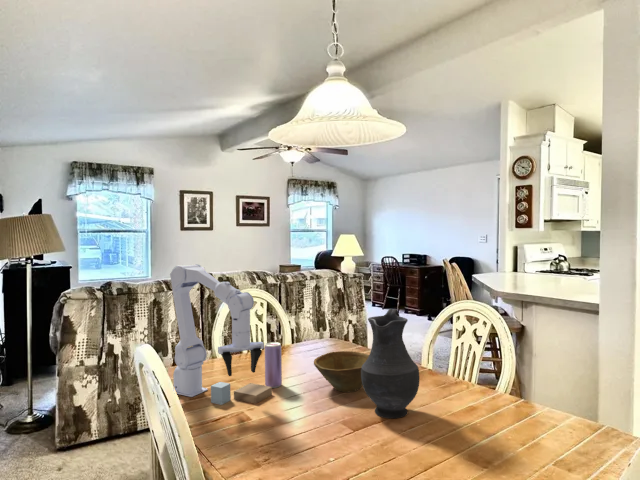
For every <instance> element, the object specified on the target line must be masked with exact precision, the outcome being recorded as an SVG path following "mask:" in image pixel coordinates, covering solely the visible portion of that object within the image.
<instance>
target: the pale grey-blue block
mask: <svg viewBox="0 0 640 480" xmlns="http://www.w3.org/2000/svg"><path fill="white" fill-rule="evenodd" d="M231 396H232V395H231V383H228V382H223V381H219V382H216V383H214V384H212V385H210V403H211V404H216V405H220V406H223V405H224V404H226V403H229V402H230V401H231Z"/></svg>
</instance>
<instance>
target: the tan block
mask: <svg viewBox="0 0 640 480" xmlns="http://www.w3.org/2000/svg"><path fill="white" fill-rule="evenodd" d="M272 395H273V388H272V387H269V386H266V385H265V384H264V385H262V384H257V383H253V382H252V383H248V384H246V385H244V386H242V387H239V388H238V389H236V390H234V391H233V399H234V400H237V401H240V402H241V401H242V402H246V403H251V404H258V403H260V402H262V401H264V400H265V399H266V398H268V397H270V396H272Z"/></svg>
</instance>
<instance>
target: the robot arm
mask: <svg viewBox="0 0 640 480" xmlns="http://www.w3.org/2000/svg"><path fill="white" fill-rule="evenodd" d="M169 277H170V282H171V287H172V288H171V290H172V297H173V303H174V304H173V305H174V309H175V315H176V321H177V326H178V332H179V333H178V334H179V341H178V343H177V344H176V345H175V347H174V350H175V355H174V363H175V364H176V367H175V368H174V371H173V376H172V377H173V380H172V381H173V388H174V387H175V390H176V392H177V394H176V395H180V396H181V395H182V396H184V397H189V398H192V397H196V396H197V395H200V394H202V393H203V392H206V391H208V390H209V389H208V388H207V387H203V365H204V361H206V359H207V349H206V348H205V346H204V341H203V340H202V339H201V338H199V337H198V336H197V332H196V326H195V320H194V319H195V318H194V316H193V315H194V313H193V309H192V302H191V297H190V292H191V290H193V289H194V287H196V285H198V284H201V285H203V286H205V287H206V288H208V289H210V290H211V291H213V292H214V294H213V295H214V296H215V298H217V299H219V301H221V302H223V303H225V304H226V305H227V307H228V310H229V312H230V316H231V342H232V343H230V344H227V345H222V346H217V353H218V354H219V355H221V358H222V359H223V362H224V364H225V367H226V370H227V376H228V377H232V374H233V373H232V372H233V371H232V369H233V368H232V364H233V363H232V361H233V356H232V354H231V353H237V352H238V353H239V352H244V351H249V352H250V372H251V373H256V370H257V365H258V362H259V360H260V357H261V355H262V353H263V352H262V350H263V349H264V350H265V344H264V343H265V342H263V341H251V310H252V309H253V307H254V304H255V303H254V301H255V300H254V298H253V296H252V294H251V293H249V292H242V291H241V289H239V288H238V289H237V288H236V287H234V286H233V285H231V282H230V281H220V280H218V279H217V278H216V277H214V276H213V275H212V274H211V273H209V272H207V271H206V268H205V267H204V266H202V265H200V264H199V263H195V264H189V265H175V266H174V267H173V269H172V270H171V271H170V274H169ZM192 288H193V289H192Z"/></svg>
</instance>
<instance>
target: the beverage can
mask: <svg viewBox="0 0 640 480" xmlns="http://www.w3.org/2000/svg"><path fill="white" fill-rule="evenodd" d="M281 344H282V343H280V342H277V341H276V342H275V341H270V342H267V343H265V344H264V386H269V387H272V389H276V388H280V387H281V386H282V384H283V380H282V378H283V375H282V374H283V373H282V370H283V366H282V364H283V363H282V359H283V358H282V345H281Z"/></svg>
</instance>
